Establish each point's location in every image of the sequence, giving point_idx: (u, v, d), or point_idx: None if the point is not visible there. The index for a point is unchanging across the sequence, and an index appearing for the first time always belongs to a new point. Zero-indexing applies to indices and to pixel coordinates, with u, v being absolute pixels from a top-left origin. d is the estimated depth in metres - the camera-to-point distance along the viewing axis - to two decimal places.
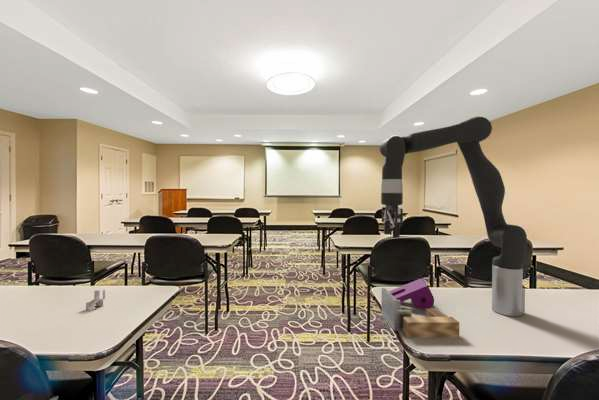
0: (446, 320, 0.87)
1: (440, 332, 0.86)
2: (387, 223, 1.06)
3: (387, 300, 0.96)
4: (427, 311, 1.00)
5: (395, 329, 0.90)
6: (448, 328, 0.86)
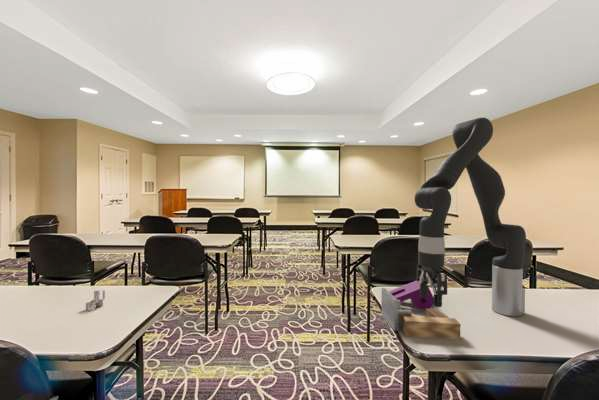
0: (447, 321, 0.87)
1: (440, 333, 0.86)
2: (423, 284, 0.92)
3: (387, 300, 0.96)
4: (427, 311, 1.00)
5: (395, 329, 0.90)
6: (448, 329, 0.85)
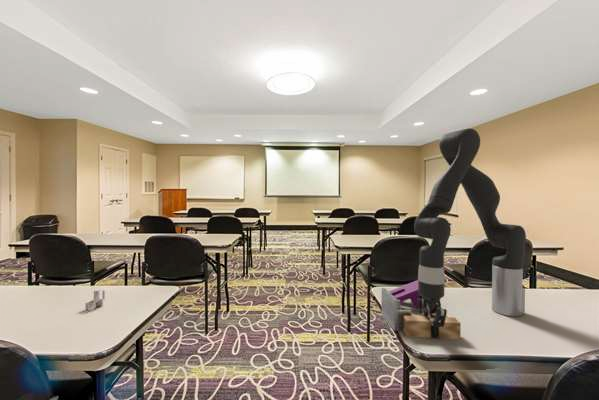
0: (447, 320, 0.87)
1: (440, 332, 0.86)
2: None
3: (387, 300, 0.96)
4: None
5: (395, 329, 0.90)
6: (449, 328, 0.85)
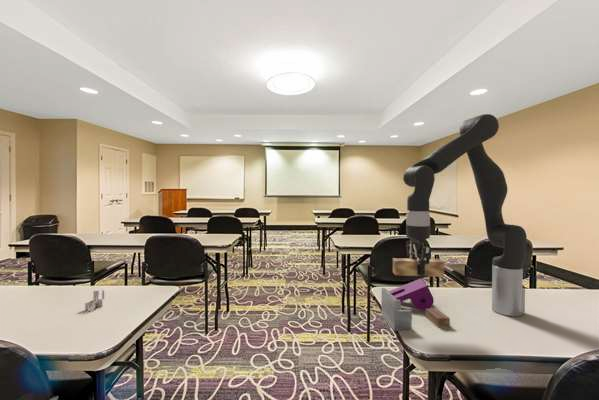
0: (432, 260, 0.95)
1: (426, 271, 0.94)
2: None
3: (387, 300, 0.96)
4: (427, 311, 1.00)
5: (395, 329, 0.90)
6: (434, 267, 0.94)
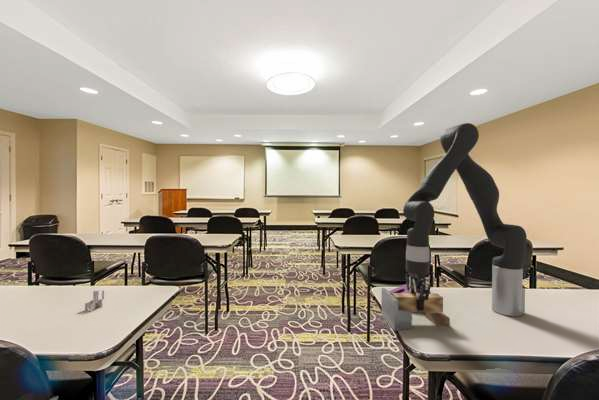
0: (431, 295, 0.96)
1: (425, 306, 0.94)
2: (414, 292, 0.98)
3: (387, 300, 0.96)
4: None
5: (395, 329, 0.90)
6: (433, 302, 0.94)
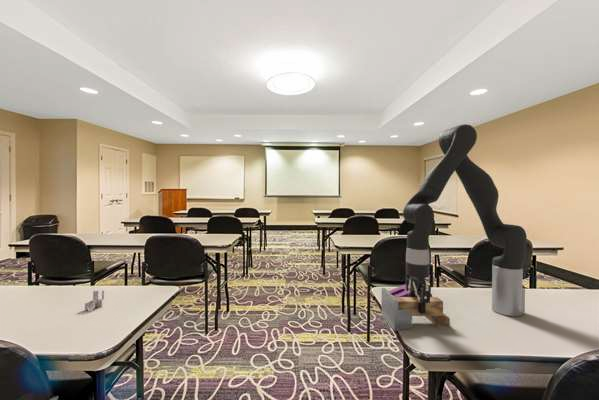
0: (431, 299, 0.96)
1: (426, 310, 0.94)
2: (412, 293, 0.99)
3: (387, 300, 0.96)
4: None
5: (395, 329, 0.90)
6: (433, 306, 0.94)
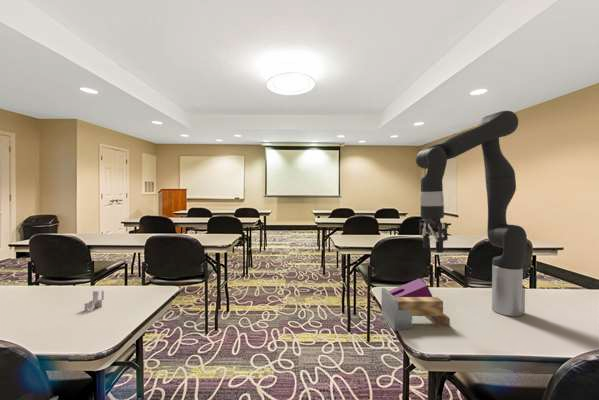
0: (431, 299, 0.96)
1: (426, 310, 0.94)
2: (426, 236, 1.02)
3: (387, 300, 0.96)
4: None
5: (395, 329, 0.90)
6: (433, 306, 0.94)
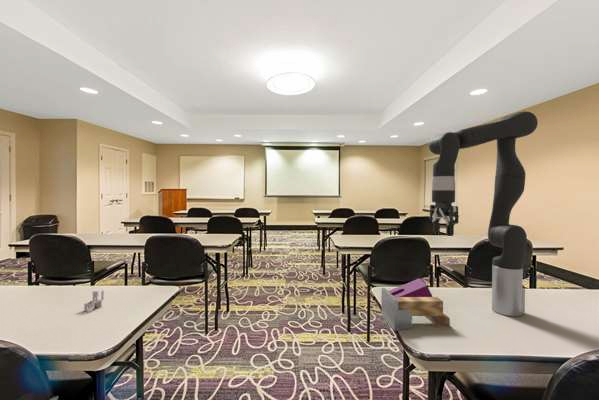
0: (431, 299, 0.96)
1: (426, 310, 0.94)
2: (436, 221, 1.05)
3: (387, 300, 0.96)
4: None
5: (395, 329, 0.90)
6: (433, 306, 0.94)
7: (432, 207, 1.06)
